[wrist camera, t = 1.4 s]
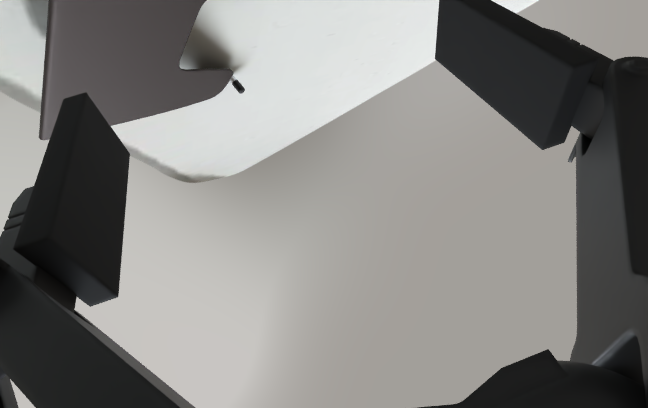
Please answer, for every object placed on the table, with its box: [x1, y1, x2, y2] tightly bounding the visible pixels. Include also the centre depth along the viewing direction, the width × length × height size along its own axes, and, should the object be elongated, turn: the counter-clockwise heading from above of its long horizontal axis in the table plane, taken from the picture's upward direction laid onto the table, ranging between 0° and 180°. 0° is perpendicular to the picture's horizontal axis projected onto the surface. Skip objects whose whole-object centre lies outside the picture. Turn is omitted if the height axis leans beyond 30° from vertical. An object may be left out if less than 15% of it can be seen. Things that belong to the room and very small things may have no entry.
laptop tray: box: [39, 0, 245, 140], centre depth 36 cm, size 23×23×9 cm
